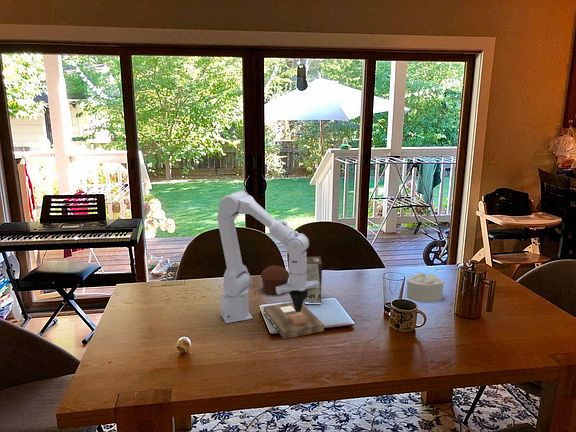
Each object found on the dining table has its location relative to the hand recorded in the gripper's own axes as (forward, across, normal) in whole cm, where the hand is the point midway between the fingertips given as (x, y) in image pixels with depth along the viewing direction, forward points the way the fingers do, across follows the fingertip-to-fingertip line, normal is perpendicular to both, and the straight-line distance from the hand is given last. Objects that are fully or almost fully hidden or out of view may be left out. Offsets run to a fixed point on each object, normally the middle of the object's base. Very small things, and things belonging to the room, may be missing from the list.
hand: (297, 310), depth 148 cm
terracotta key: (+5, 0, 0) cm, 5 cm away
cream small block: (+6, 0, +9) cm, 11 cm away
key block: (+6, 0, +5) cm, 8 cm away
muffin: (+6, +4, +33) cm, 33 cm away
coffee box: (+6, +14, +19) cm, 24 cm away
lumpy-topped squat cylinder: (+6, +55, +6) cm, 56 cm away
